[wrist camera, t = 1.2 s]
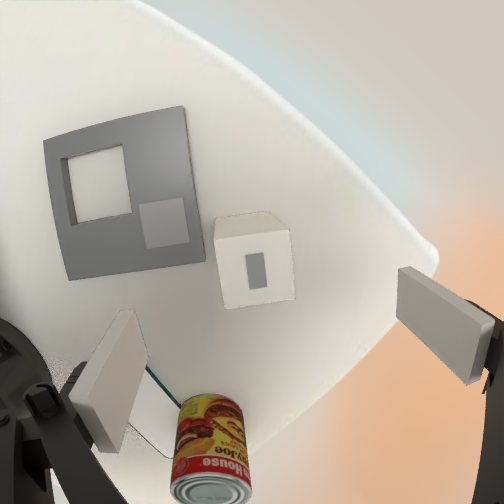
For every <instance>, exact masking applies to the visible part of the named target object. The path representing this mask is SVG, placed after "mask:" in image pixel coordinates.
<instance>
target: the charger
mask: <svg viewBox="0 0 504 504" xmlns="http://www.w3.org/2000/svg"><path fill="white" fill-rule="evenodd" d="M213 240H214V247H215V253H216V259H217V266H218V272H219V278H220V284H221V290H222V296H223V302H224V308H225V310H226V309H233V308H240V307H247V306H253V305H260V304H266V303H273V302H279V301H285V300H291V299H296V297H295V285H294V274H293V262H292V251H291V241H290V230H289V228H288V227H287V226H285V225H284V224H283V223H282V222H281V221H280V220H279V219H278V218H277V217H276V216H275V215H274V214H273V213H271V212H270V211H265V212H257V213H250V214H242V215H235V216H228V217H221V218H216V221H215V230H214V239H213Z"/></svg>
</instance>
